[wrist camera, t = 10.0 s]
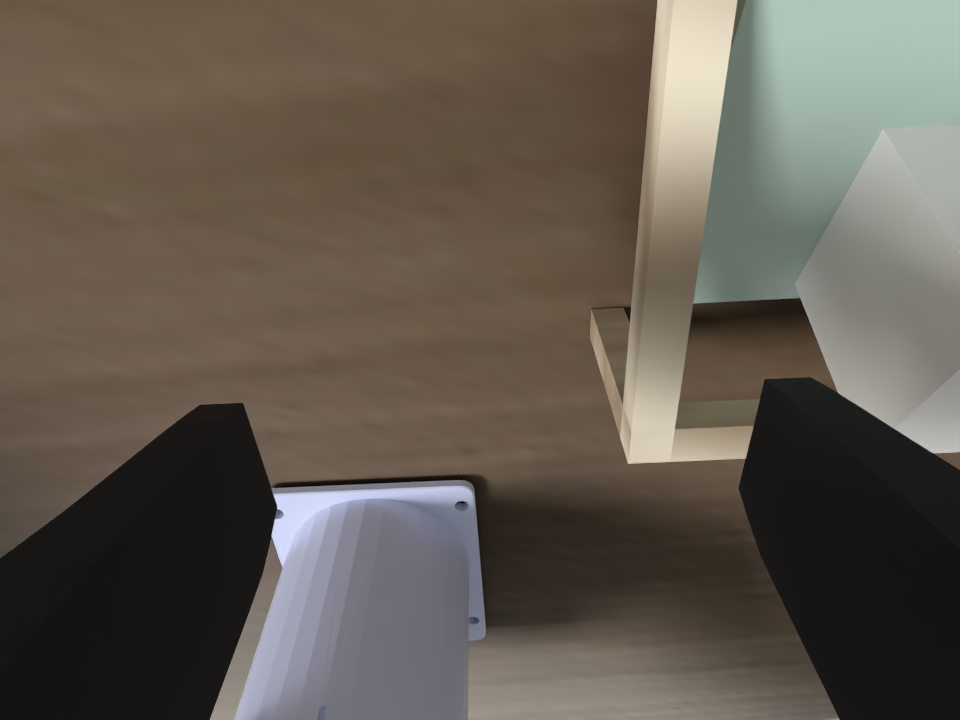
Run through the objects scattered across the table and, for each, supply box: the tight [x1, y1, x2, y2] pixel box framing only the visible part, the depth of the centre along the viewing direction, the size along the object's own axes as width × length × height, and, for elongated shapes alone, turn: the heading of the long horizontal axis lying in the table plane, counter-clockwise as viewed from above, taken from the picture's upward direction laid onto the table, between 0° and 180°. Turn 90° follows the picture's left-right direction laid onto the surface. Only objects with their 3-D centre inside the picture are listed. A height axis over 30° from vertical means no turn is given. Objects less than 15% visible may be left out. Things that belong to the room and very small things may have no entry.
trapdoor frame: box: [590, 0, 760, 464], centre depth 14 cm, size 12×15×6 cm
